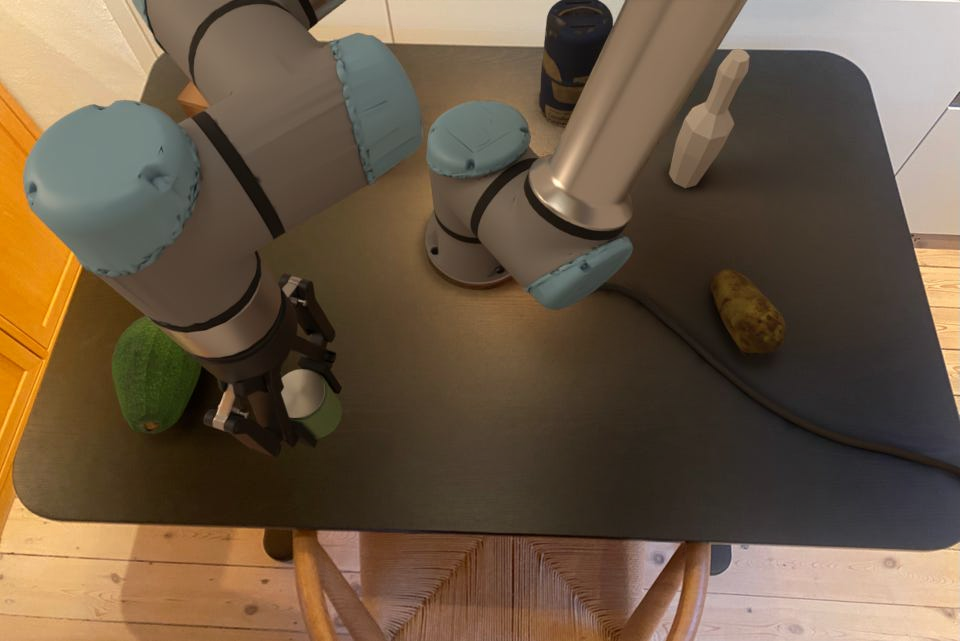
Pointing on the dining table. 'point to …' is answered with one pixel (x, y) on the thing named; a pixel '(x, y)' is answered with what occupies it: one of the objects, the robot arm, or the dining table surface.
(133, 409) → the fruit
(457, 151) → the robot arm
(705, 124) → the bowling pin
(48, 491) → the dining table surface
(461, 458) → the dining table surface
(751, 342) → the potato
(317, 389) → the can
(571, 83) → the canister
